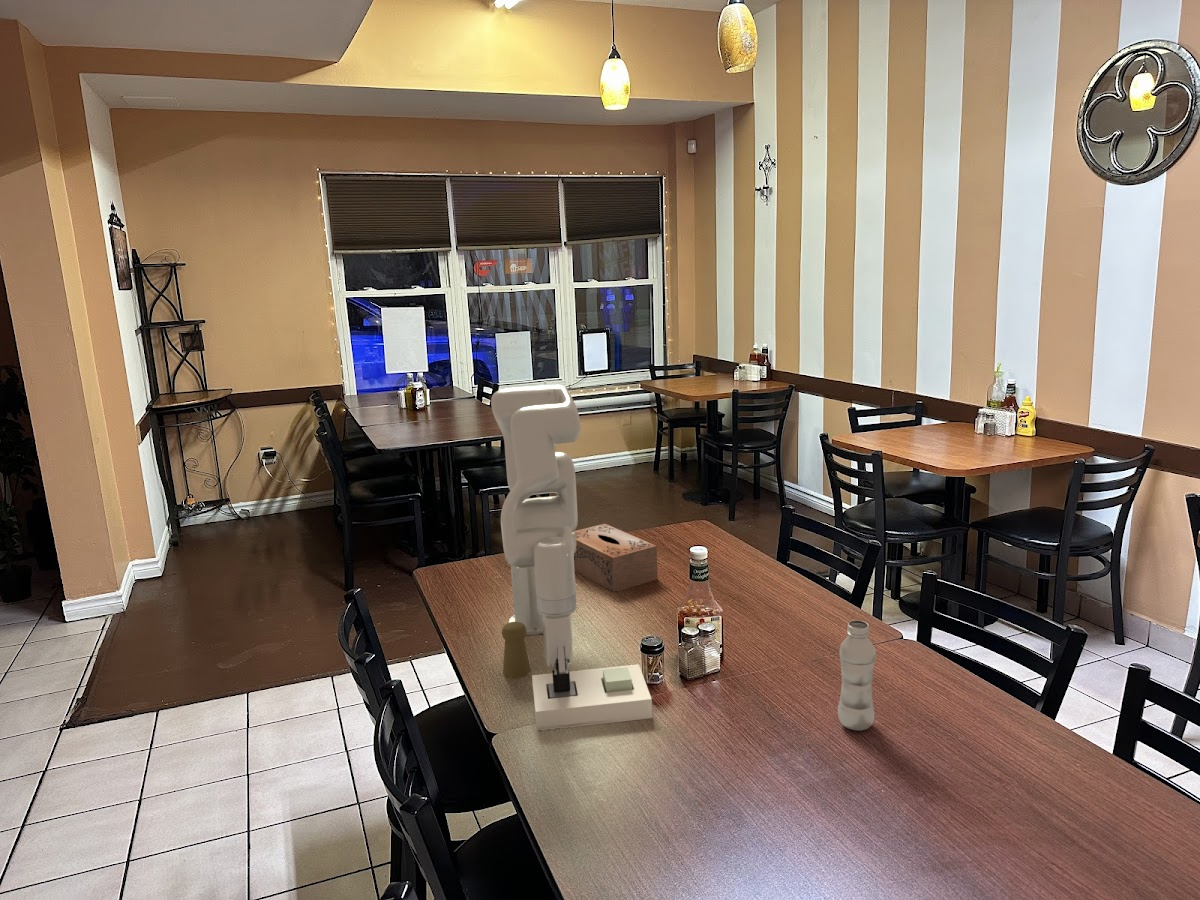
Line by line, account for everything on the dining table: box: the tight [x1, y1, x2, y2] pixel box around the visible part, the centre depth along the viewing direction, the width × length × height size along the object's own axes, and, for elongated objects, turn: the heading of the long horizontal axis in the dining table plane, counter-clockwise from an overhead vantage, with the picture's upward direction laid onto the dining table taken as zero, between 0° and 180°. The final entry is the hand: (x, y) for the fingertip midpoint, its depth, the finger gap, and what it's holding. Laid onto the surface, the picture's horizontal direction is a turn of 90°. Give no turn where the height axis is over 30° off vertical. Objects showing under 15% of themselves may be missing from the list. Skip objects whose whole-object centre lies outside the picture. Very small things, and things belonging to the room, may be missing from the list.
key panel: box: [531, 663, 653, 732], centre depth 157 cm, size 14×22×4 cm, turn 97°
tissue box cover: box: [574, 523, 659, 593], centre depth 226 cm, size 26×14×10 cm, turn 33°
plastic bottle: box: [837, 619, 877, 732], centre depth 145 cm, size 6×7×20 cm
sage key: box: [603, 667, 632, 693], centre depth 157 cm, size 5×5×3 cm
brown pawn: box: [501, 622, 532, 679], centre depth 171 cm, size 6×6×11 cm
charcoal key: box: [548, 682, 576, 699], centre depth 157 cm, size 5×5×3 cm
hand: (561, 689), depth 156 cm, fingers closed
